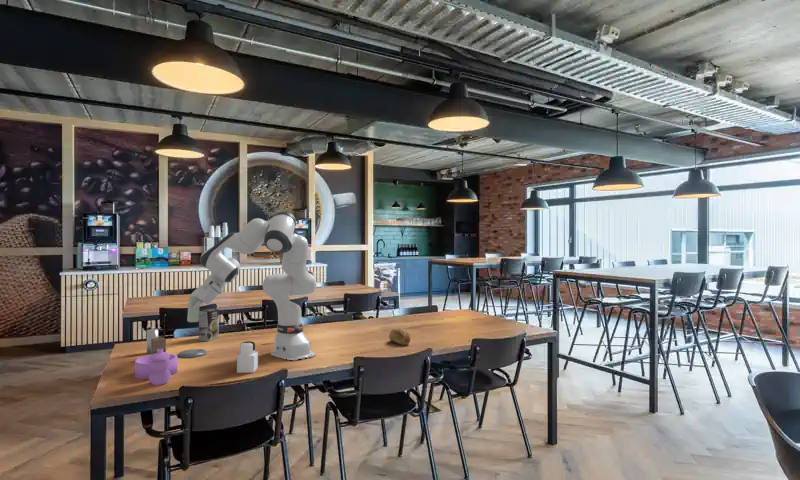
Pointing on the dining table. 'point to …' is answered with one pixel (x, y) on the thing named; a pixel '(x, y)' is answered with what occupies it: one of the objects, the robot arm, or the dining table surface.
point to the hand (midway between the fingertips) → (191, 307)
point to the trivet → (192, 353)
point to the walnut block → (158, 344)
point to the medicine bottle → (247, 358)
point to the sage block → (193, 310)
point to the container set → (156, 367)
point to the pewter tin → (150, 335)
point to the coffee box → (208, 324)
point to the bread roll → (399, 336)
